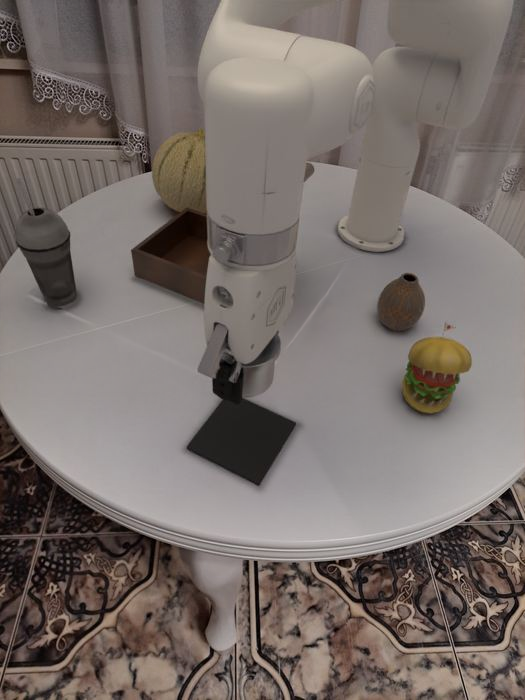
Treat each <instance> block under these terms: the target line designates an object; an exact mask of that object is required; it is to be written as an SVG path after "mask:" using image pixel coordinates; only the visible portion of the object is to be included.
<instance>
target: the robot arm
mask: <svg viewBox="0 0 525 700" xmlns="http://www.w3.org/2000/svg"><path fill="white" fill-rule="evenodd" d="M341 1H342V2H343V0H220V2H219V4H218V7H217V9H216V11H215V14H214V16H213V18H212V20H211V21H210V25H209V27H208V29H207V31H206V35H205V39H204V40H203V44H202V46H201V51H200V54H199V59H198V65H197V77H196V78H197V79H196V80H197V89H198V90H197V91H198V95H199V98H200V100H201V104H202V105H203V110H204V111H203V112H204V136H205V159H206V202H207V213H206V214H207V245H208V250H209V252H210V254H211V255H210V257H209V263H208V270H207V278H206V288H205V302H204V304H203V307H204V308H203V331H204V332H203V333H204V338H205V344H206V348H205V350H204V353H203V355H202V357H201V360H200V361H199V364H198V367H197V373H198V374H201V375H203V376H205V377H207V378H210V379H211V383H212V385H211V386H212V388H211V389H212V393H213V394H214V395H215V396H217V397H218V398H220V399H222V400H228V401H230V402H232V403H235V404H237V405H238V404H240V402H241V401H242V398H243V397H242V387H243V376H242V375H241V374H240V370H241V366H242V363H243V364H248V363H250V362H252V361H253V360H255V359H256V358H257V357H258V356H259V354H260V353H261V352H262V351H263V349H264V348H265V347H266V346H267V344H268V343H269V342H270V340H271V339H272V338H273V337H274V335H275V334H276V333H278V334H279V331H280V329H281V328H282V326H283V325H284V324H285V322H286V321H287V319H288V318H289V316H290V314H291V313H292V310H293V308H294V299H295V289H296V287H295V286H296V272H297V243H298V233H299V226H300V218H301V208H302V201H303V192H304V184H305V182H304V176H305V169H306V163H307V162H308V161H309V160H310V159H312V158H314V157H317V156H319V155H322V154H325V153H327V152H330V151H332V150H335V149H337V148H340V147H341V146H343V145H345V143H347V142H349V141H350V140H351V139H352V138H353V137H354V136H355V134H356V133H358V132H359V131H361V130H362V128H363V127H364V126H365V130H364V135H363V139H362V144H361V145H362V146H361V150H360V155H359V160H358V165H357V171H356V175H355V180H354V185H353V191H352V195H351V200H350V206H349V211H348V213H347V214H346V215H344V216H342V217H341V219H340V220H339V221H338V224H337V233H338V235H339V237H340V238H341V239H342V241H344V242H345V243H347V244H348V245H349V246H351V247H353V248H355V249H358V250H362V251H365V252H374V253H381V252H389V251H391V250H395V249H397V248H399V247H400V246H401V245H402V243H403V241H404V238H405V235H406V234H405V229H404V228H403V226H402V225H401V223H400V222H401V218H402V215H403V212H404V207H405V205H406V201H407V197H408V193H409V190H410V187H411V183H412V179H413V175H414V172H415V169H416V165H417V161H418V159H419V155H420V149H421V140H420V136H419V132H418V129H417V127H416V123H421V124H426V125H431V126H433V127H434V126H435V127H439V128H443V129H447V130H454V131H456V130H457V131H458V130H459V131H460V130H464V129H466V128H469V127H470V126H471V125H472V124H473V123H474V122H475V121H476V119H477V118H478V116H479V114H480V112H481V110H482V108H483V105H484V102H485V99H486V97H487V94H488V91H489V89H490V85H491V81H492V78H493V75H494V72H495V69H496V66H497V63H498V61H499V57H500V53H501V50H502V47H503V44H504V41H505V38H506V34H507V32H508V29H509V24H510V21H511V18H512V14H513V9H514V3H515V0H388V8H387V9H388V11H387V32H388V35H389V37H390V39H391V41H394V43H395V44H398V45H400V46H393V47H389V48H387V49H385V50H383V51H381V53H380V54H379V55H378V56H377V57H376V58H375V60H374V61H373V63H371V62H370V59H369V58H368V57H367V56H366V54H365V53H363V52H362V51H360V49H357V48H355V47H354V46H351V45H348V44H345V43H341V42H339V41H333V40H328V39H323V38H318V37H313V36H307V35H305V34H300V33H295V32H289V31H284V30H279V29H277V28H278V27H280V26H281V25H283V24H284V23H285V22H286V21H288V20H289V19H292V18H293V17H296V15H299V14H301V13H303V12H306V11H308V10H311V9H314V8H317V7H322V6H325V5H328V4H333V3H337V2H341ZM223 353H225V354H227V355H229V356H232V357H234V360H233V363H232V367H229V366H227V365H225V364H223V363H220V362H221V359H222V355H223Z"/></svg>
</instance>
